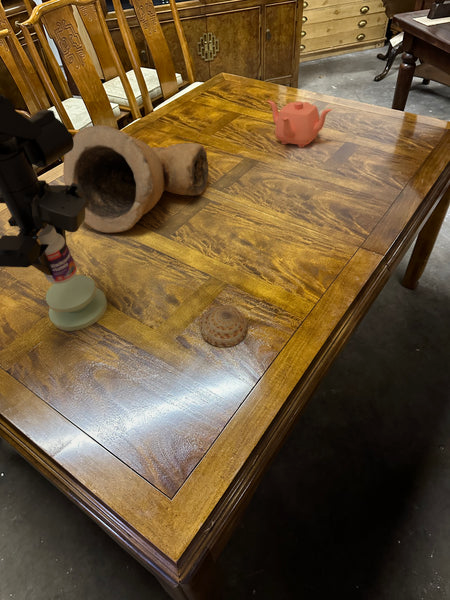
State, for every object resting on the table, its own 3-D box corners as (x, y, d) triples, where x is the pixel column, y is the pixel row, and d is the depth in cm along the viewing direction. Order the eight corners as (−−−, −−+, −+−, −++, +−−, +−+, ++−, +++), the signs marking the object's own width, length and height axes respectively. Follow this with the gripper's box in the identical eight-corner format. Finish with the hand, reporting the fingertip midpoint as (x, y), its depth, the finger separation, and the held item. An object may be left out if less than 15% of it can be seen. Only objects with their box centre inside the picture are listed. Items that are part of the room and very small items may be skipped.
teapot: (329, 146, 121) (333, 107, 113) (282, 155, 119) (282, 116, 112) (311, 126, 131) (313, 89, 123) (267, 134, 129) (266, 97, 122)
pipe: (214, 209, 119) (181, 240, 92) (119, 204, 124) (63, 233, 98) (212, 119, 108) (175, 126, 82) (109, 119, 114) (44, 125, 88)
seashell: (230, 295, 78) (248, 307, 71) (237, 321, 80) (256, 336, 73) (190, 311, 75) (205, 326, 68) (198, 338, 78) (213, 355, 71)
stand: (41, 329, 79) (30, 311, 75) (64, 289, 86) (55, 270, 83) (95, 332, 77) (87, 314, 73) (114, 291, 84) (107, 272, 81)
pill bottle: (61, 288, 71) (38, 243, 64) (40, 279, 74) (16, 234, 67) (84, 270, 74) (64, 224, 67) (63, 261, 77) (43, 216, 70)
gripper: (39, 220, 53) (79, 304, 64) (92, 152, 66) (118, 232, 77) (-38, 219, 55) (14, 301, 66) (28, 153, 68) (62, 231, 79)
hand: (56, 263), depth 72 cm, fingers closed on pill bottle, 5 cm apart
